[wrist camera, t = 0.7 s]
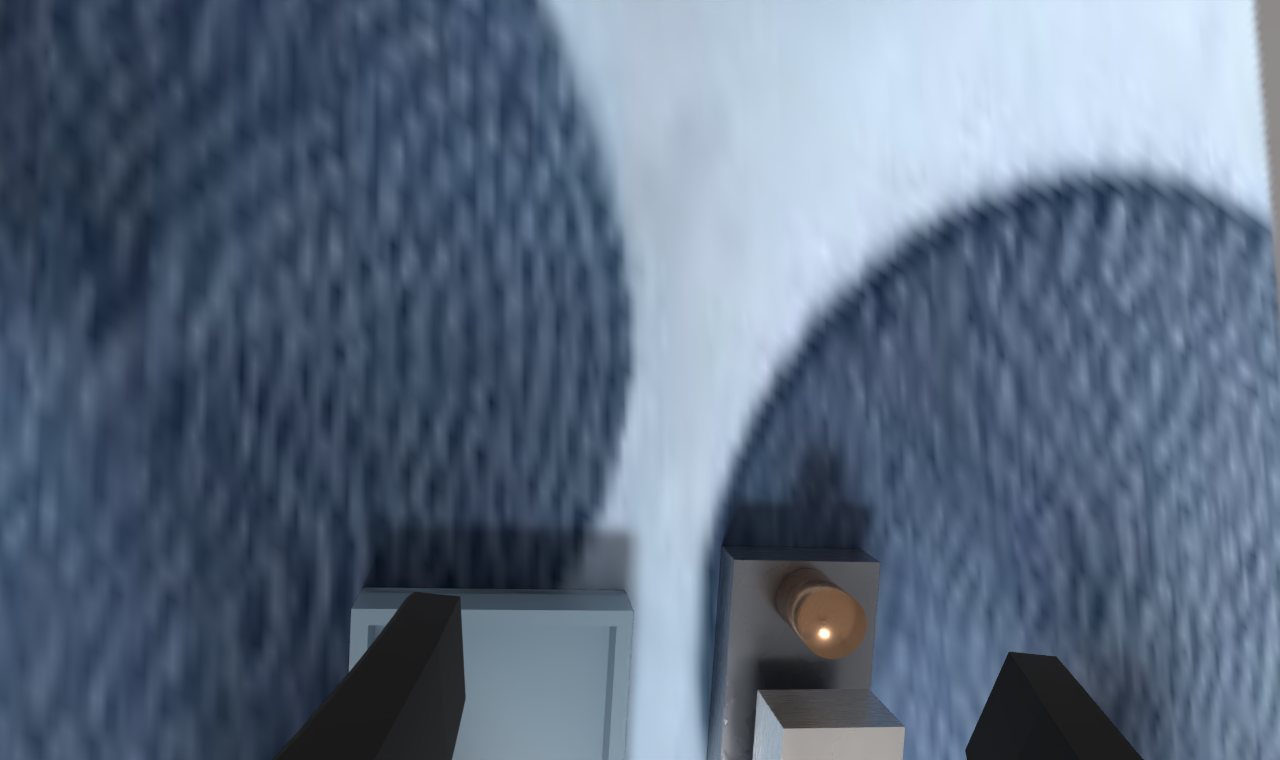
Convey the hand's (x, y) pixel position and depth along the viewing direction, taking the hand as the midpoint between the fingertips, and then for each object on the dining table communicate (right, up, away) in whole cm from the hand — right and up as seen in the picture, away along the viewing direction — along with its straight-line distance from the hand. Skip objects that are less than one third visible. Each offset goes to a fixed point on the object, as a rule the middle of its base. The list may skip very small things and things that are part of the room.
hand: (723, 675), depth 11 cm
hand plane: (+5, -11, +24) cm, 27 cm away
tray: (-7, -10, +22) cm, 25 cm away
